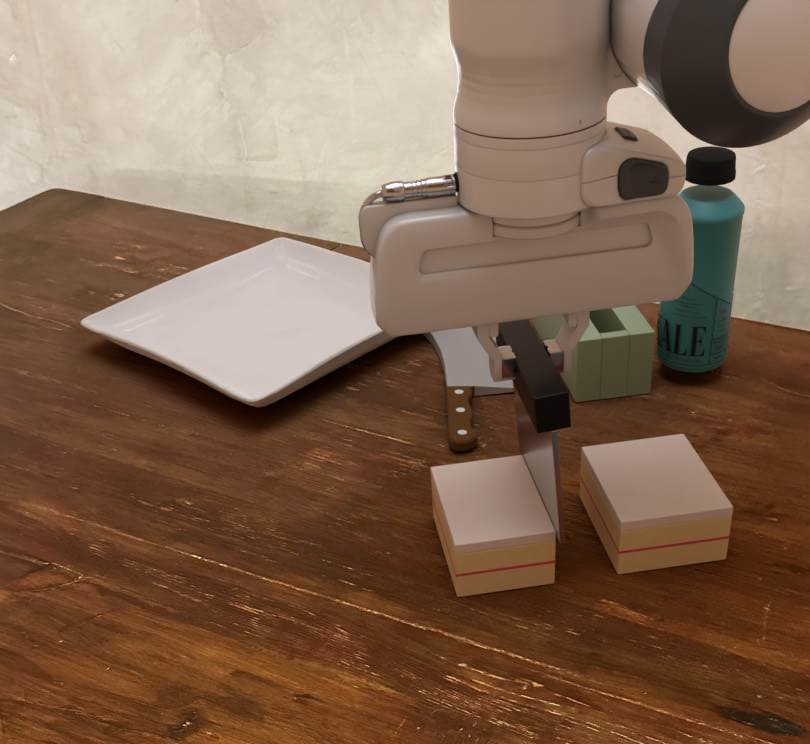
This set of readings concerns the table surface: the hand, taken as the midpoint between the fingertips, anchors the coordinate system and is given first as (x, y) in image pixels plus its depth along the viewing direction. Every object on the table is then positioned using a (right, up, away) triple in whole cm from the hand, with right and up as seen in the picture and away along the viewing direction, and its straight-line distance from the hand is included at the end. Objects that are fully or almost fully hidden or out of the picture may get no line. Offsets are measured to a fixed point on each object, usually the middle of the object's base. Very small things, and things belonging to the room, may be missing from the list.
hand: (530, 373), depth 75 cm
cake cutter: (+1, -8, +6) cm, 10 cm away
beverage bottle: (+18, +4, +28) cm, 33 cm away
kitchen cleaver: (-2, +3, +29) cm, 29 cm away
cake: (+10, -10, +9) cm, 17 cm away
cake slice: (-2, -12, +8) cm, 14 cm away
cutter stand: (+9, +6, +31) cm, 33 cm away
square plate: (-22, +9, +38) cm, 45 cm away
